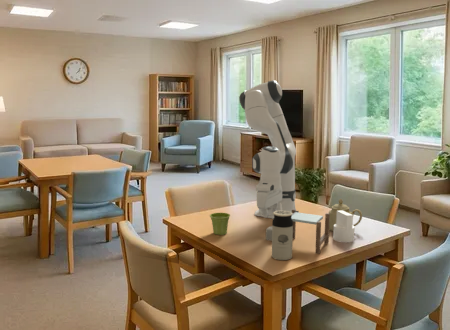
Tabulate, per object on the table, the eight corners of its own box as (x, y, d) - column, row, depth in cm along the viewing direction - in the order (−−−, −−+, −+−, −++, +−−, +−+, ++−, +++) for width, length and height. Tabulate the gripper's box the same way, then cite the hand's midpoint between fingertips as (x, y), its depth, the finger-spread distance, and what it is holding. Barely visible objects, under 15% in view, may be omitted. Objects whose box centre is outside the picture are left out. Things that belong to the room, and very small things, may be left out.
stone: (265, 240, 199) (266, 229, 199) (269, 236, 204) (270, 226, 203) (276, 241, 197) (276, 230, 196) (280, 238, 202) (280, 227, 201)
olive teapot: (358, 226, 220) (359, 196, 217) (361, 233, 209) (363, 202, 207) (326, 225, 222) (327, 195, 219) (328, 232, 211) (330, 200, 208)
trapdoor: (280, 221, 190) (280, 216, 189) (288, 215, 199) (289, 211, 199) (315, 227, 183) (316, 222, 183) (322, 220, 193) (323, 215, 192)
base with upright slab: (358, 241, 198) (359, 214, 196) (339, 243, 195) (341, 216, 193) (347, 235, 206) (348, 209, 204) (329, 237, 204) (330, 211, 202)
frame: (280, 247, 189) (280, 217, 187) (292, 237, 203) (292, 209, 201) (319, 254, 181) (320, 222, 179) (328, 242, 196) (329, 213, 194)
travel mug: (273, 252, 183) (274, 209, 180) (293, 254, 181) (294, 211, 178) (269, 259, 175) (270, 214, 173) (290, 261, 173) (291, 216, 170)
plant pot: (215, 237, 202) (215, 218, 201) (206, 231, 211) (206, 213, 209) (233, 234, 207) (233, 216, 205) (224, 229, 215) (224, 211, 214)
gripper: (273, 179, 208) (272, 208, 210) (254, 187, 190) (253, 219, 192) (285, 180, 205) (285, 210, 207) (267, 188, 187) (267, 221, 189)
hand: (270, 214), depth 199 cm, fingers open, 8 cm apart
